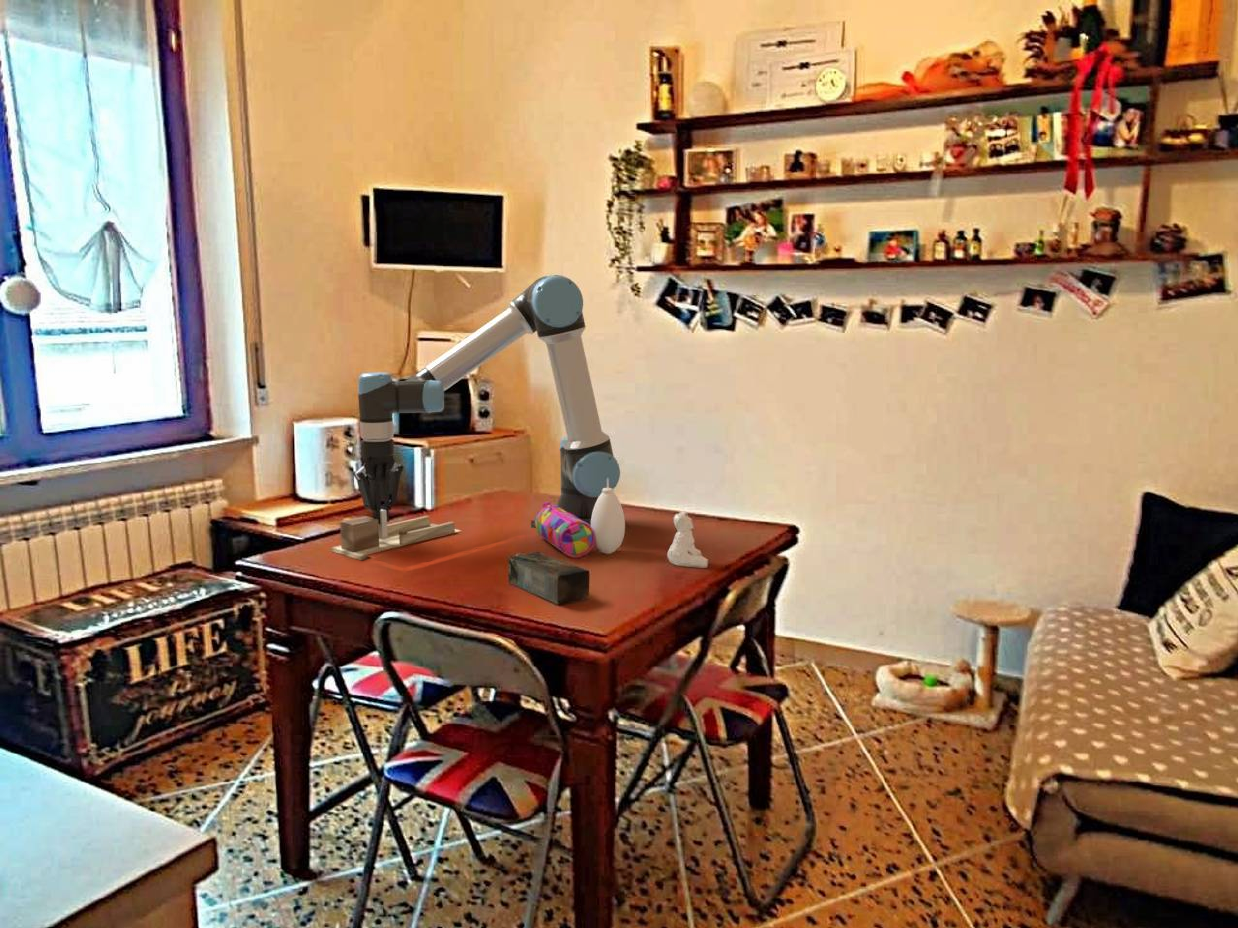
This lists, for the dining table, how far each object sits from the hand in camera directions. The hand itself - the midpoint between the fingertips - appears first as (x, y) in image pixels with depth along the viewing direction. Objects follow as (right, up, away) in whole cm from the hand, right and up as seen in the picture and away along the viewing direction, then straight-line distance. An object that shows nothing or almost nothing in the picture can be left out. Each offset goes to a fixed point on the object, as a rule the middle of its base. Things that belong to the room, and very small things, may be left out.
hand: (381, 536), depth 226 cm
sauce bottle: (+54, -4, -5) cm, 54 cm away
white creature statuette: (+72, -5, -13) cm, 73 cm away
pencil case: (+43, -3, +1) cm, 43 cm away
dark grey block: (+42, -9, -32) cm, 54 cm away
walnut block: (-4, -2, -4) cm, 6 cm away
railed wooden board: (+3, -2, +4) cm, 5 cm away
